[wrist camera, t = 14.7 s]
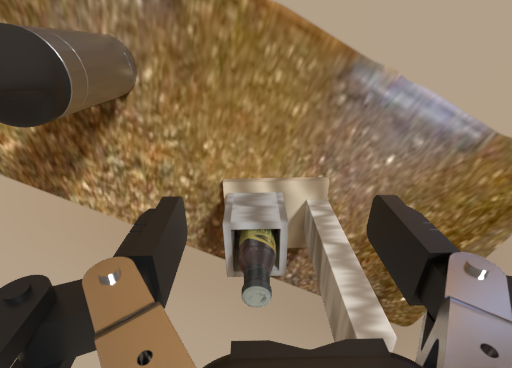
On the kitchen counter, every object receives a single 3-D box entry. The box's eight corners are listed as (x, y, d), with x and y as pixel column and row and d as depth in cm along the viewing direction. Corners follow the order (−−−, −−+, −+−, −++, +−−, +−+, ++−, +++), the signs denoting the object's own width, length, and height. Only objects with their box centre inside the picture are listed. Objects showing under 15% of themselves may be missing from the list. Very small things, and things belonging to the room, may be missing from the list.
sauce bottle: (278, 219, 54) (292, 303, 36) (254, 234, 55) (255, 321, 38) (259, 197, 51) (263, 275, 34) (234, 213, 53) (225, 296, 35)
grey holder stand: (228, 244, 58) (209, 404, 32) (223, 178, 51) (193, 315, 25) (319, 242, 59) (374, 400, 32) (327, 177, 51) (406, 311, 25)
